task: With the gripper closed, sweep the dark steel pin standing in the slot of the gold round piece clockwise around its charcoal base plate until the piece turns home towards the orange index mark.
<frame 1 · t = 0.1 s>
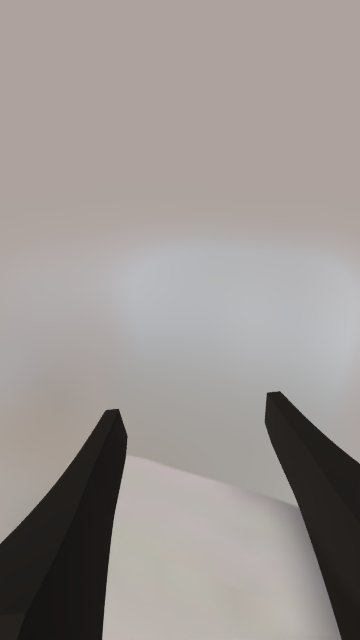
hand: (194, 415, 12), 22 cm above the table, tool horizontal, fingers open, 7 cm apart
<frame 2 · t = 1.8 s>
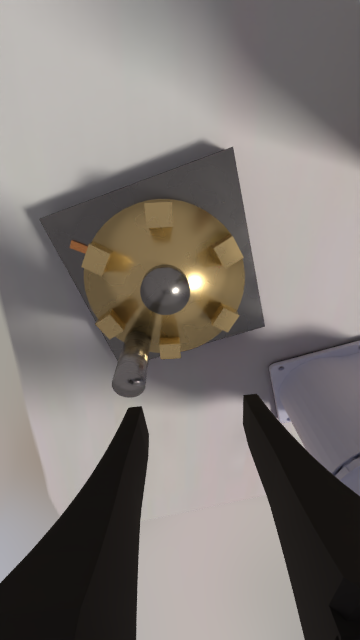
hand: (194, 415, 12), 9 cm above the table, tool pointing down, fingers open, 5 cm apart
base plate: (166, 272, 18), on the table
gold round piece: (163, 299, 14), point 5 cm above the table, hinge at 0.0°
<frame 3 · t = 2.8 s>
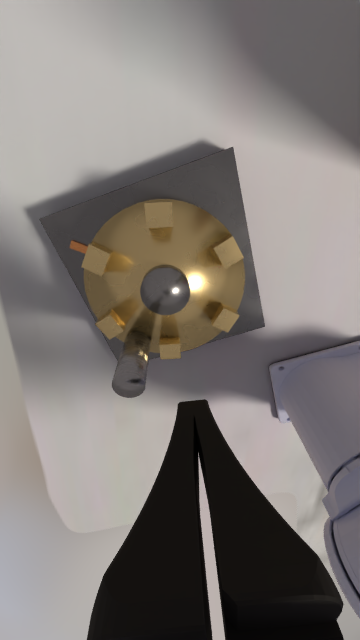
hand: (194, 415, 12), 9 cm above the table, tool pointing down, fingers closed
base plate: (166, 272, 18), on the table
gold round piece: (163, 299, 14), point 5 cm above the table, hinge at 0.0°
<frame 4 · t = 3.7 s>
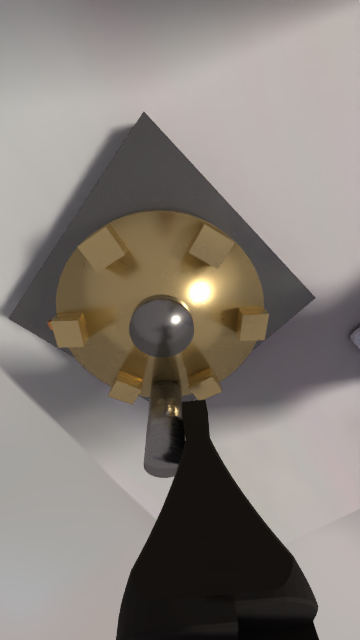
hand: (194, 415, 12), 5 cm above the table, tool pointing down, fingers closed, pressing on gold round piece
base plate: (163, 297, 15), on the table
gold round piece: (161, 341, 11), point 5 cm above the table, hinge at 2.2°, touching gripper
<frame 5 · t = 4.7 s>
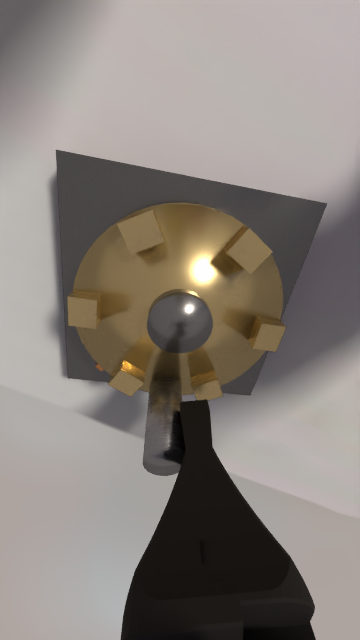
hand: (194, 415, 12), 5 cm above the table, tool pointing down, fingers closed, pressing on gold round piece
base plate: (177, 293, 15), on the table
gold round piece: (180, 337, 11), point 5 cm above the table, hinge at 45.5°, touching gripper
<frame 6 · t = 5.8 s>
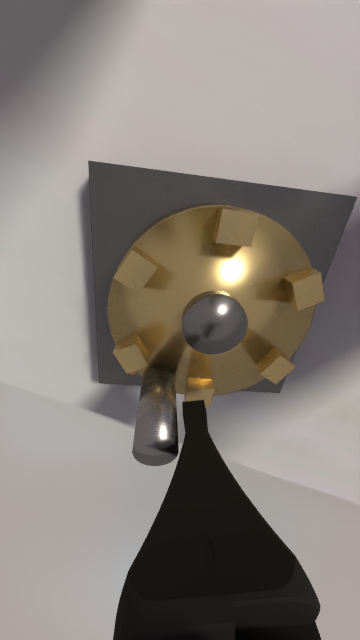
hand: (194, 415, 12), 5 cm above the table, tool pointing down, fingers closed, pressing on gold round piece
base plate: (203, 294, 15), on the table
gold round piece: (214, 337, 11), point 5 cm above the table, hinge at 76.0°, touching gripper
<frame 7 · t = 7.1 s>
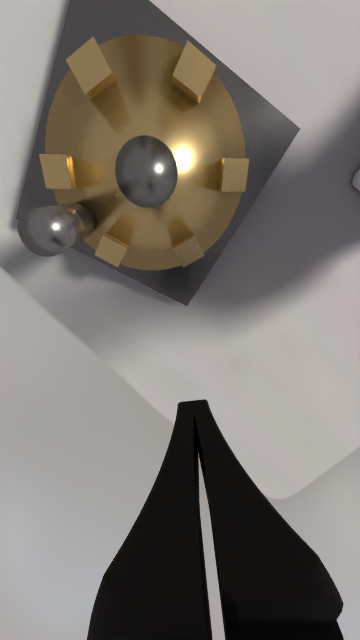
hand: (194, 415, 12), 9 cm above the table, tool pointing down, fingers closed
base plate: (151, 177, 15), on the table
gold round piece: (141, 175, 11), point 5 cm above the table, hinge at 76.1°
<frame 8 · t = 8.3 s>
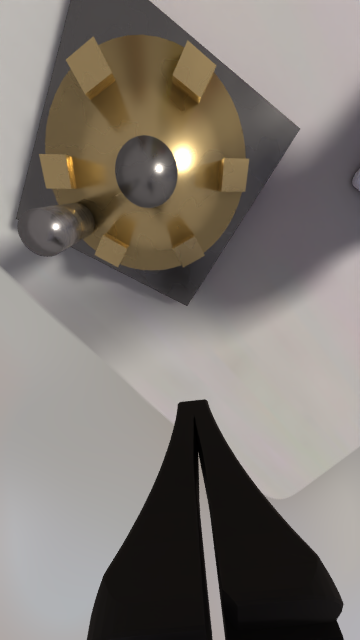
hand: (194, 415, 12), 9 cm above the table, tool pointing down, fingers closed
base plate: (151, 177, 15), on the table
gold round piece: (141, 175, 11), point 5 cm above the table, hinge at 76.1°
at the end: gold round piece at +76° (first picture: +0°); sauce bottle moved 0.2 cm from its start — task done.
